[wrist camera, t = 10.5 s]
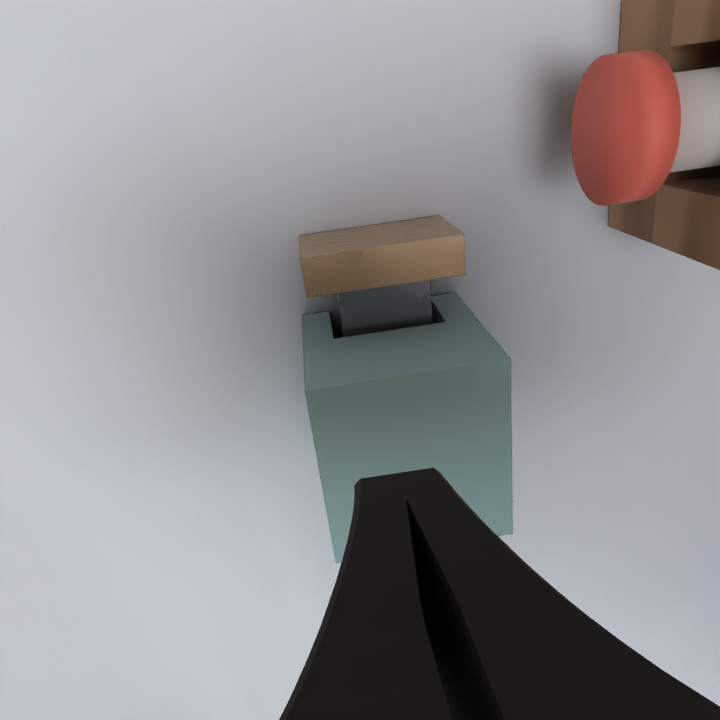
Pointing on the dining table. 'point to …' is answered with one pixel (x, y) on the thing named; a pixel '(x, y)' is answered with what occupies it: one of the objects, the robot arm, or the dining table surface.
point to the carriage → (411, 410)
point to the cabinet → (689, 187)
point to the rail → (382, 271)
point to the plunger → (642, 125)
